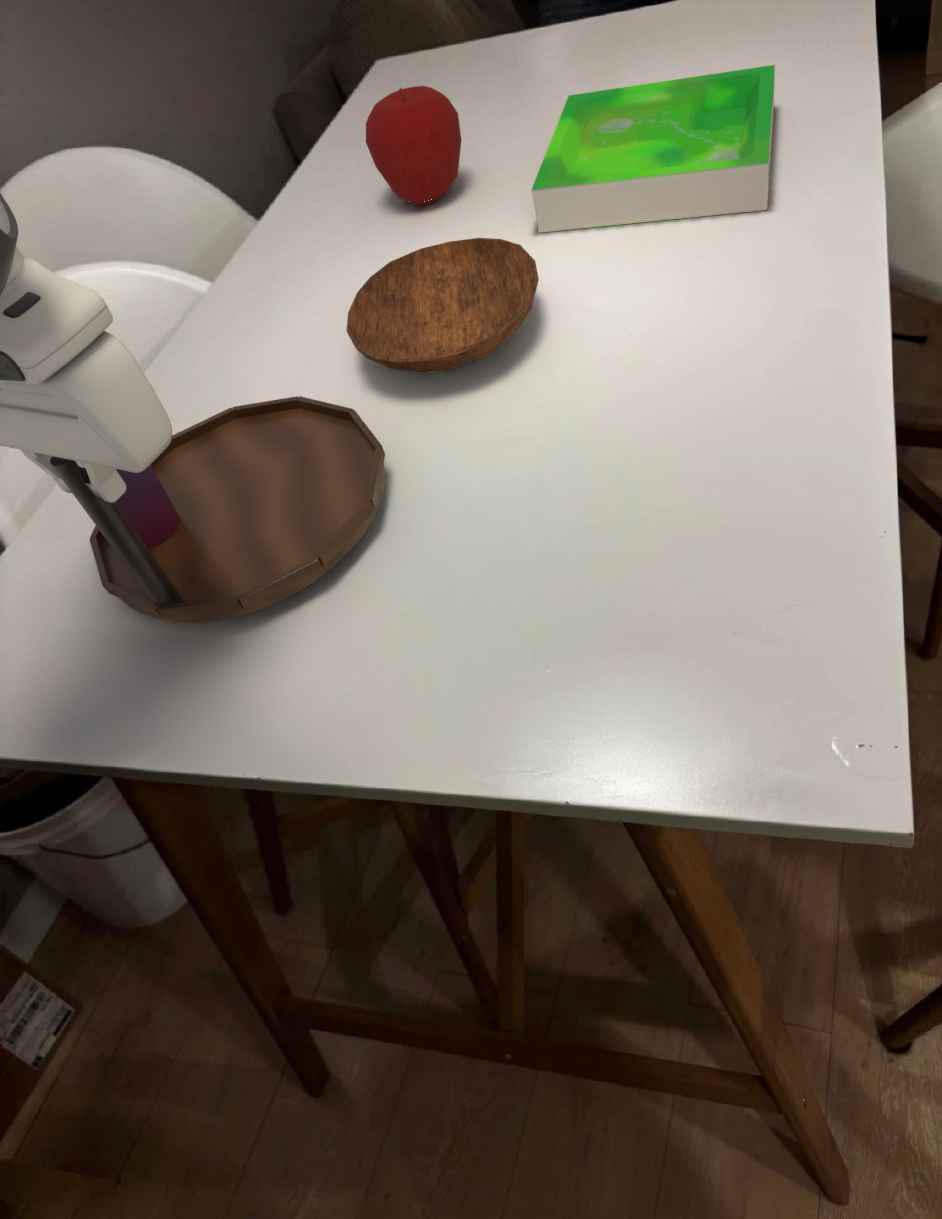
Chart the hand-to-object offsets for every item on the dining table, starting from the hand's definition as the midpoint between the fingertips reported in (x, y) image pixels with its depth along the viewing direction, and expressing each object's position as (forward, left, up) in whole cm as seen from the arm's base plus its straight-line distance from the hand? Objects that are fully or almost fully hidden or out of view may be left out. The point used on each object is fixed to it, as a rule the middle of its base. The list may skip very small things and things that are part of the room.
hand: (97, 491), depth 63 cm
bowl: (+39, +11, -15) cm, 43 cm away
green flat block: (+76, +15, -15) cm, 79 cm away
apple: (+59, +39, -15) cm, 73 cm away
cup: (+3, +10, -12) cm, 16 cm away
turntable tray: (+10, +6, -13) cm, 17 cm away
